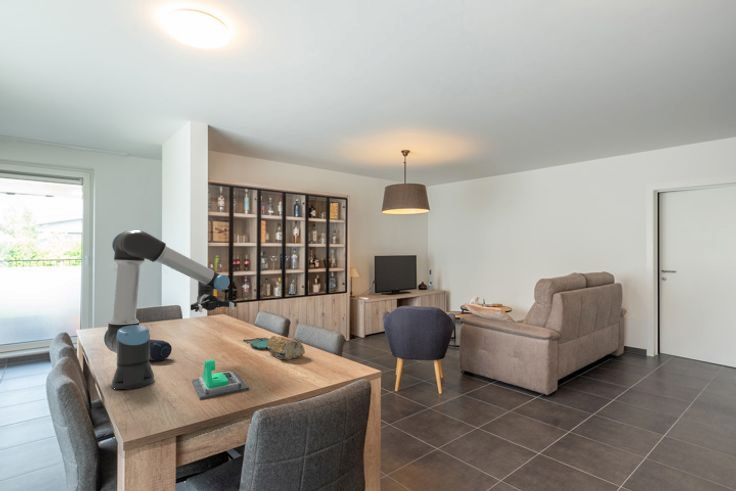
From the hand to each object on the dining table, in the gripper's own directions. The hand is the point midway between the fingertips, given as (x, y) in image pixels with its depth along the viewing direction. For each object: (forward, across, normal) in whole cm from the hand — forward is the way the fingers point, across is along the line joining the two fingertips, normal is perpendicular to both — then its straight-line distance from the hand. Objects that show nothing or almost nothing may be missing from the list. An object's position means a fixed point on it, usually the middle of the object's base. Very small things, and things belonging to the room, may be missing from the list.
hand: (217, 307), depth 169 cm
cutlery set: (-42, -34, -31) cm, 62 cm away
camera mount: (+15, +4, -29) cm, 33 cm away
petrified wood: (-12, -36, -30) cm, 48 cm away
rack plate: (+15, +2, -30) cm, 33 cm away
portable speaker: (-45, +26, -30) cm, 60 cm away
